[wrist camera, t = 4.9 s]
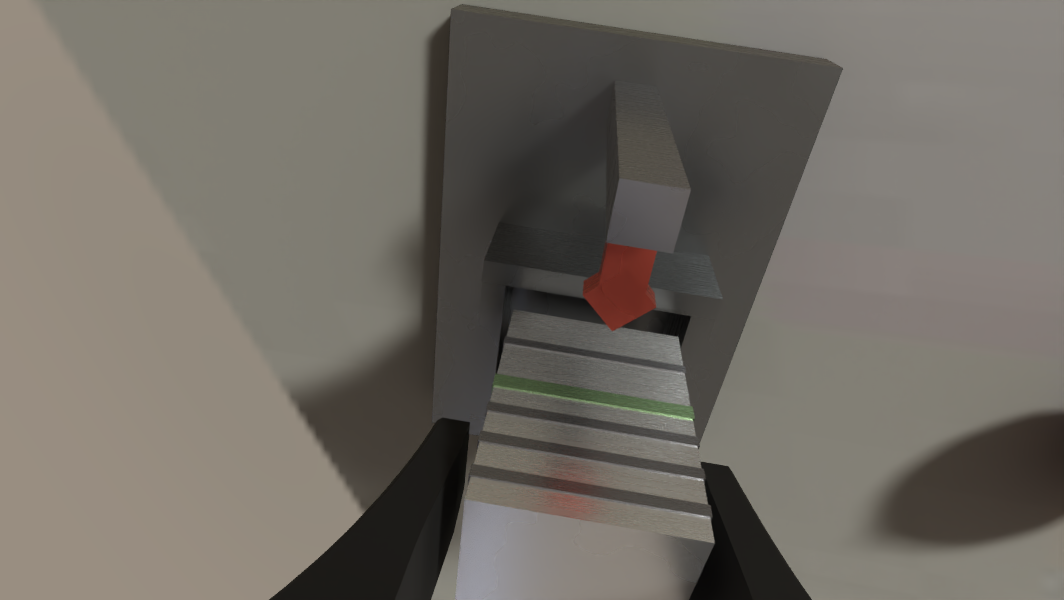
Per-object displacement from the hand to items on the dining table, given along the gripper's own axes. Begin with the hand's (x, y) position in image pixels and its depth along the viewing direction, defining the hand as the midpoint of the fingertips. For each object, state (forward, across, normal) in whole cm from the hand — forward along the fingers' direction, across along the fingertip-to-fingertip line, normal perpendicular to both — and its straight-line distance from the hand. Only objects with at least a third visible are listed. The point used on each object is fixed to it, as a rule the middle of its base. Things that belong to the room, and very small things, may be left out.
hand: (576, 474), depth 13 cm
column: (+3, 0, 0) cm, 3 cm away
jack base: (+7, 0, -2) cm, 7 cm away
